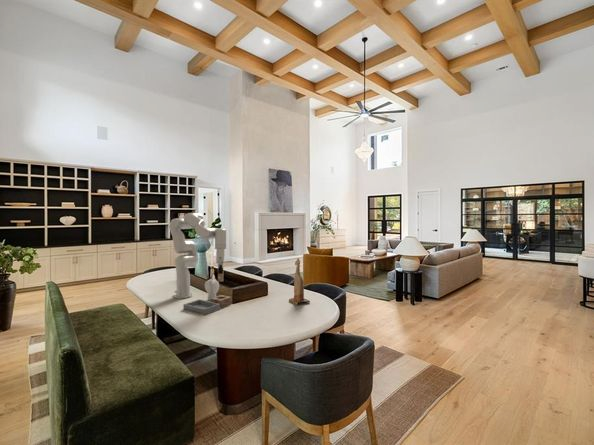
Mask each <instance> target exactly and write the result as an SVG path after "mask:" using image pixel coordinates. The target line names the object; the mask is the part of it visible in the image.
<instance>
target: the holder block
mask: <svg viewBox="0 0 594 445" xmlns="http://www.w3.org/2000/svg"><path fill="white" fill-rule="evenodd" d="M232 301H233V299H232V296H228V295H224V294H223V295H222V294H219V295H216V297H214V298H211V301H210V302H213V303H218V304H220V309H223V308H225V307H227V306H231V305H232V304H233V302H232Z"/></svg>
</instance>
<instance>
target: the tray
mask: <svg viewBox="0 0 594 445" xmlns="http://www.w3.org/2000/svg"><path fill="white" fill-rule="evenodd" d="M219 310H221V308H220V304H218V303H213V302H211V301H210V300H203V299H196V300H193V301H191V302H187V303H184V304H183V311H187V312H192V313H196V314H199V315H203V316H206V315H208V314H211V313H214V312H216V311H219Z"/></svg>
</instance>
